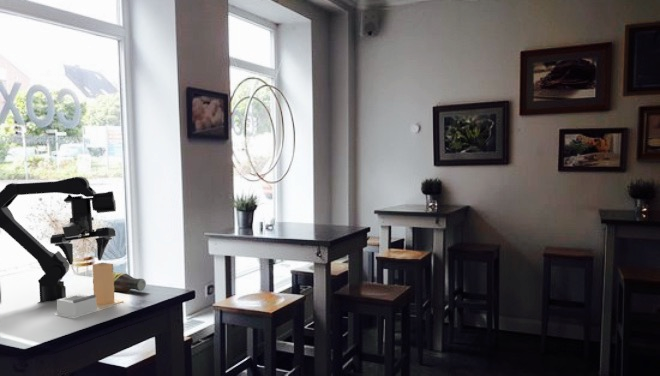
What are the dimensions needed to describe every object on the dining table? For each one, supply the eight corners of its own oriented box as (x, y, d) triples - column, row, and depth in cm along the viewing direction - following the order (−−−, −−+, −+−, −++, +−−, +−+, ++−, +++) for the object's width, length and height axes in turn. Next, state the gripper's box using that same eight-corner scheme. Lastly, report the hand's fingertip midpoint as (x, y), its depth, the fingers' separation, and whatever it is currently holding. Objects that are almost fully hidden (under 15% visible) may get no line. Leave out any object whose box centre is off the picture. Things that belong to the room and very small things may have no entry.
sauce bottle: (105, 270, 179) (150, 274, 172) (104, 287, 178) (149, 292, 172) (91, 271, 173) (136, 276, 166) (90, 289, 172) (135, 294, 166)
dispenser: (53, 317, 143) (52, 297, 143) (106, 301, 159) (106, 283, 159) (73, 321, 139) (72, 301, 139) (126, 304, 155) (125, 286, 154)
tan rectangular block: (94, 302, 153) (92, 264, 152) (103, 300, 156) (102, 262, 155) (105, 304, 150) (103, 266, 150) (114, 302, 153) (113, 263, 153)
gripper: (38, 216, 153) (41, 267, 150) (98, 208, 153) (102, 258, 151) (58, 219, 164) (61, 266, 161) (114, 211, 164) (118, 258, 162)
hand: (85, 262), depth 159 cm, fingers open, 9 cm apart
